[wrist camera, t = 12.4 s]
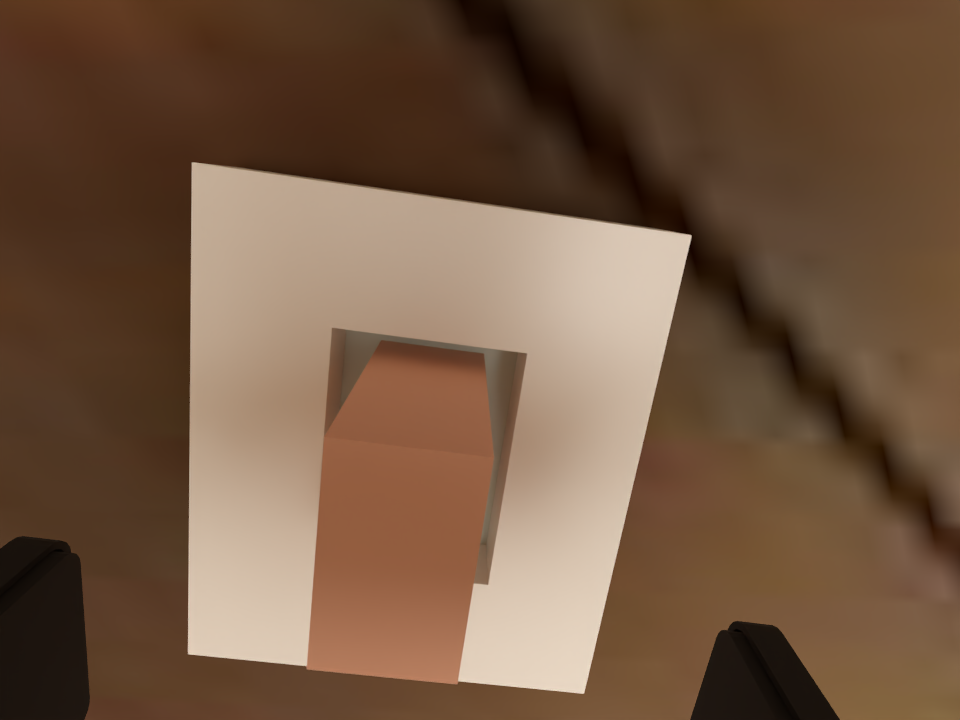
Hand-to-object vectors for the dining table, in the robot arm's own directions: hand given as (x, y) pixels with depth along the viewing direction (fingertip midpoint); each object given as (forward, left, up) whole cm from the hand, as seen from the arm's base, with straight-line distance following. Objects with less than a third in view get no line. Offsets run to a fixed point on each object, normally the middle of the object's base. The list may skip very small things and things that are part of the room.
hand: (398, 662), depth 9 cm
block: (0, 0, -9) cm, 9 cm away
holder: (+1, 0, -10) cm, 10 cm away
